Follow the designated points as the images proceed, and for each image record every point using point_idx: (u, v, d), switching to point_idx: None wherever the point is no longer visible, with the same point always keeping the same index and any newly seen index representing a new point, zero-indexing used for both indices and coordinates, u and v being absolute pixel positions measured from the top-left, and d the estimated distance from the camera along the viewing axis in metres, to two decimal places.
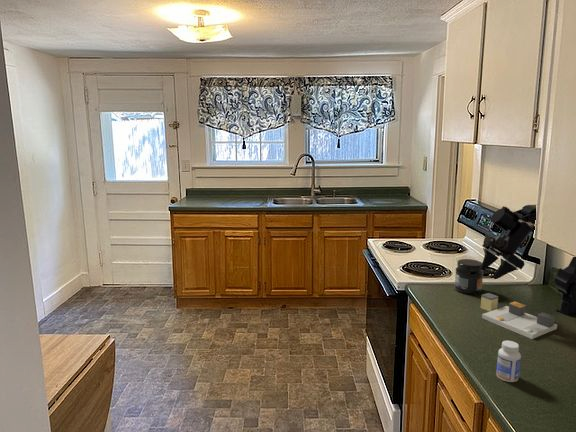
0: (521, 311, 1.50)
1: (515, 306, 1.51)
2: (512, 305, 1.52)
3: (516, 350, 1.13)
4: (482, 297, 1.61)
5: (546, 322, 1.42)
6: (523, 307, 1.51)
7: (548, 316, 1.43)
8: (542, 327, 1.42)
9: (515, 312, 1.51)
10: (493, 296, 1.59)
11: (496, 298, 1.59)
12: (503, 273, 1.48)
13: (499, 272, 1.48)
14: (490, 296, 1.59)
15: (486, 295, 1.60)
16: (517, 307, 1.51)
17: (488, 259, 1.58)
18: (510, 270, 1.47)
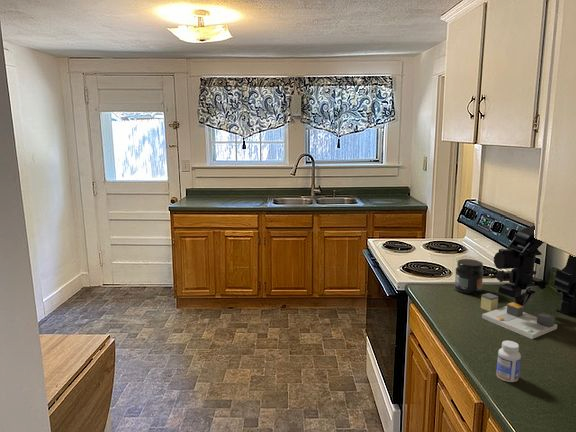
0: (519, 312, 1.50)
1: (513, 307, 1.51)
2: (510, 306, 1.52)
3: (516, 350, 1.13)
4: (482, 297, 1.61)
5: (546, 322, 1.42)
6: (521, 308, 1.50)
7: (548, 316, 1.43)
8: (542, 327, 1.42)
9: (513, 313, 1.51)
10: (493, 296, 1.59)
11: (496, 298, 1.59)
12: (520, 302, 1.52)
13: (517, 302, 1.53)
14: (490, 296, 1.59)
15: (486, 295, 1.60)
16: (515, 308, 1.50)
17: None
18: (523, 298, 1.50)
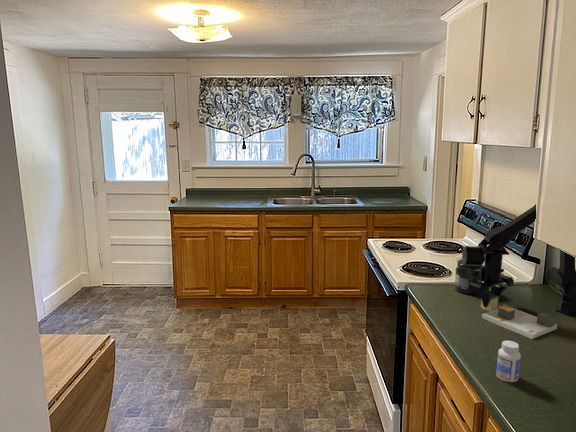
0: (510, 315, 1.47)
1: (504, 310, 1.48)
2: (501, 309, 1.49)
3: (516, 350, 1.13)
4: None
5: (546, 322, 1.42)
6: (512, 311, 1.48)
7: (548, 316, 1.43)
8: (542, 327, 1.42)
9: (504, 316, 1.48)
10: (493, 296, 1.59)
11: (496, 298, 1.59)
12: (486, 300, 1.58)
13: (483, 300, 1.59)
14: None
15: None
16: (506, 311, 1.48)
17: (494, 293, 1.61)
18: (487, 296, 1.56)
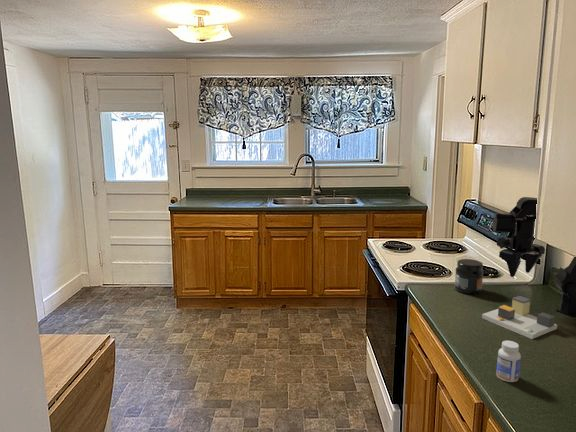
0: (510, 315, 1.47)
1: (504, 310, 1.48)
2: (501, 309, 1.49)
3: (516, 350, 1.13)
4: (513, 300, 1.53)
5: (546, 322, 1.42)
6: (512, 311, 1.48)
7: (548, 316, 1.43)
8: (542, 327, 1.42)
9: (504, 316, 1.48)
10: (525, 299, 1.52)
11: (528, 301, 1.52)
12: (513, 269, 1.54)
13: (510, 269, 1.56)
14: (522, 299, 1.52)
15: (517, 298, 1.53)
16: (506, 311, 1.48)
17: (528, 260, 1.60)
18: (515, 265, 1.53)
